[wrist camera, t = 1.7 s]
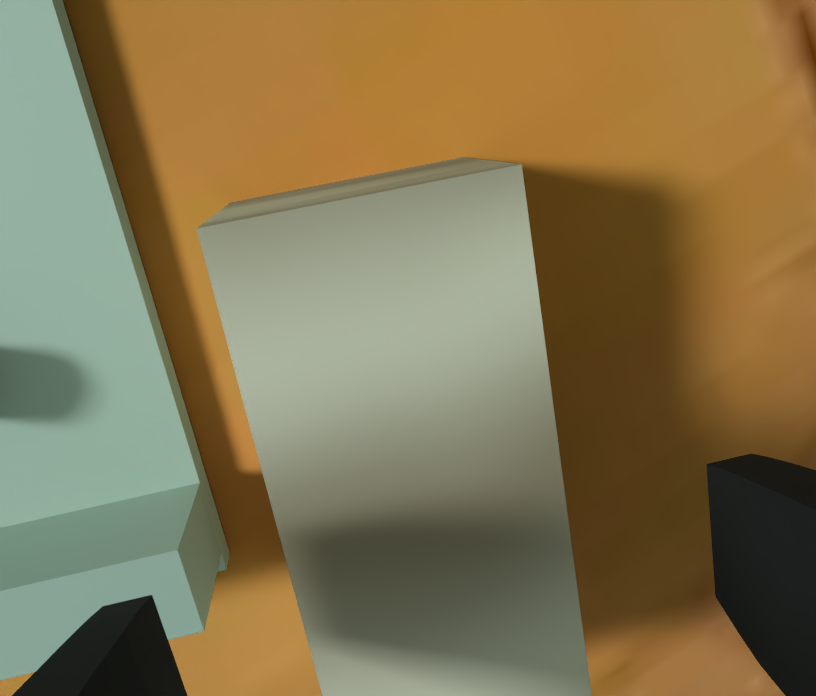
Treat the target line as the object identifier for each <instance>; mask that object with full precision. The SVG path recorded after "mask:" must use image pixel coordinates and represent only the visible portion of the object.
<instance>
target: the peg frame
mask: <svg viewBox="0 0 816 696" xmlns="http://www.w3.org/2000/svg"><path fill="white" fill-rule="evenodd" d="M229 556H230V552H229V549H228V546H227V542H226V539H225V536H224V532H223V529H222V526H221V522H220V519H219V516H218V513H217V509H216V506H215V503H214V499H213V496H212V493H211V489H210V486H209V483H208V479H207V476H206V473H205V470H204V466H203V463H202V460H201V456H200V453H199V450H198V446H197V443H196V440H195V437H194V433H193V430H192V427H191V423H190V420H189V417H188V413H187V410H186V407H185V403H184V400H183V397H182V394H181V390H180V387H179V384H178V380H177V377H176V374H175V370H174V367H173V364H172V360H171V357H170V354H169V351H168V347H167V344H166V341H165V337H164V334H163V331H162V327H161V324H160V321H159V317H158V314H157V311H156V308H155V304H154V301H153V298H152V294H151V291H150V288H149V284H148V281H147V278H146V274H145V271H144V268H143V265H142V261H141V258H140V255H139V251H138V248H137V245H136V241H135V238H134V235H133V232H132V228H131V225H130V222H129V218H128V215H127V212H126V208H125V205H124V202H123V198H122V195H121V192H120V189H119V185H118V182H117V179H116V175H115V172H114V169H113V165H112V162H111V159H110V155H109V152H108V149H107V146H106V142H105V139H104V136H103V132H102V129H101V126H100V122H99V119H98V116H97V112H96V109H95V106H94V103H93V99H92V96H91V93H90V89H89V86H88V83H87V79H86V76H85V73H84V70H83V66H82V63H81V60H80V56H79V53H78V50H77V46H76V43H75V40H74V36H73V33H72V30H71V27H70V23H69V20H68V17H67V13H66V10H65V7H64V3H63V0H0V680H3V679H7V678H11V677H15V676H19V675H24V674H28V673H32V672H36V671H37V670H38V669H39V668H40V667H41V666H42V665H43V664H44V663H45V662H46V661H47V660H48V659H49V657H50V656H51V655H52V654H53V653H54V652H55V651H56V650H57V649H58V648H59V647H60V646H61V645H62V644H63V643H64V642H65V641H66V640H67V639H68V638H69V637H70V636H71V635H72V634H73V633H74V632H75V631H76V630H77V629H78V628H79V627H80V626H81V625H82V624H83V623H85V622H86V621H87V620H88V619H89V618H90V617H91V616H92V615H93V614H94V613H96V612H97V611H98V610H99V609H100V608H101V607H102V606H106V605H110V604H115V603H119V602H123V601H127V600H132V599H136V598H140V597H144V596H149V595H152V596H153V599H154V602H155V605H156V608H157V610H158V613H159V616H160V619H161V622H162V625H163V628H164V630H165V633H166V636H167V639H168V640H169V639H173V638H178V637H182V636H186V635H190V634H194V633H198V632H203V631H204V629H205V625H206V620H207V616H208V611H209V607H210V602H211V598H212V593H213V589H214V584H215V580H216V575H217V572H220V571H225V570H227V566H228V561H229Z"/></svg>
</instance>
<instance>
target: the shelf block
mask: <svg viewBox="0 0 816 696" xmlns="http://www.w3.org/2000/svg"><path fill="white" fill-rule="evenodd" d="M196 229H197V233H198V237H199V240H200V244H201V248H202V251H203V255H204V259H205V262H206V266H207V270H208V274H209V277H210V281H211V285H212V288H213V292H214V296H215V300H216V303H217V307H218V311H219V314H220V318H221V322H222V325H223V329H224V333H225V337H226V340H227V344H228V348H229V351H230V355H231V359H232V362H233V366H234V370H235V374H236V377H237V381H238V385H239V388H240V392H241V396H242V399H243V403H244V407H245V411H246V414H247V418H248V422H249V425H250V429H251V433H252V436H253V440H254V444H255V448H256V451H257V455H258V459H259V462H260V466H261V470H262V473H263V477H264V481H265V485H266V488H267V492H268V496H269V499H270V503H271V507H272V511H273V514H274V518H275V522H276V525H277V529H278V533H279V536H280V540H281V544H282V548H283V551H284V555H285V559H286V562H287V566H288V570H289V573H290V577H291V581H292V585H293V588H294V592H295V596H296V599H297V603H298V607H299V610H300V614H301V618H302V622H303V625H304V629H305V633H306V636H307V640H308V644H309V647H310V651H311V655H312V659H313V662H314V666H315V670H316V673H317V677H318V681H319V684H320V688H321V692H322V696H592V695H591V688H590V680H589V672H588V665H587V657H586V650H585V642H584V634H583V627H582V619H581V611H580V604H579V596H578V589H577V581H576V573H575V566H574V558H573V551H572V543H571V535H570V528H569V520H568V513H567V505H566V497H565V490H564V482H563V475H562V467H561V459H560V452H559V444H558V436H557V429H556V421H555V414H554V406H553V398H552V391H551V383H550V376H549V368H548V360H547V353H546V345H545V338H544V330H543V322H542V315H541V307H540V299H539V292H538V284H537V277H536V269H535V261H534V254H533V246H532V239H531V231H530V223H529V216H528V208H527V201H526V193H525V185H524V178H523V170H522V164H516V163H508V162H500V161H492V160H484V159H476V158H468V157H461V158H456V159H451V160H446V161H441V162H435V163H430V164H425V165H420V166H415V167H410V168H405V169H400V170H395V171H390V172H385V173H379V174H374V175H369V176H364V177H359V178H354V179H349V180H344V181H339V182H334V183H328V184H323V185H318V186H313V187H308V188H303V189H298V190H293V191H288V192H283V193H277V194H272V195H267V196H262V197H257V198H252V199H247V200H242V201H237V202H232V203H229V204H228V205H227V206H225V207H224V208H223V209H222V210H220V211H219V212H218V213H216V214H215V215H214V216H212V217H211V218H210V219H208V220H207V221H206V222H204V223H203V224H202V225H200V226H199V227H198V228H196Z"/></svg>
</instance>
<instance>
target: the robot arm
mask: <svg viewBox="0 0 816 696" xmlns="http://www.w3.org/2000/svg"><path fill="white" fill-rule="evenodd" d="M707 476H708V491H709V506H710V521H711V536H712V551H713V565H714V580H715V595H716V598H717V599H718V601H719V603H720V604H721V606H722V607H723V609H724V610H725V612H726V614H727V615H728V617H729V618H730V620H731V622H732V623H733V625H734V626H735V628H736V629H737V631H738V633H739V634H740V636H741V637H742V639H743V640H744V642H745V643H746V644H747V646H748V647H749V649H750V650H751V652H752V653H753V655H754V656H755V658H756V659H757V661H758V662H759V664H760V665H761V666H762V668H763V669H764V670H765V671H766V672H767V674H768V675H769V676H770V677H771V679H772V680H773V681H774V682H775V683H776V685H777V686H778V687H779V688H780V689H781V691H782V692H783V693H784V694H785V695H786V696H816V470H812V469H809V468H805V467H802V466H799V465H795V464H792V463H788V462H785V461H781V460H777V459H773V458H769V457H765V456H760V455H755V454H748V455H744V456H740V457H735V458H731V459H727V460H723V461H718V462H714V463H710V464H707ZM12 696H187V693H186V691H185V688H184V685H183V682H182V679H181V676H180V673H179V671H178V668H177V665H176V662H175V659H174V656H173V653H172V651H171V648H170V645H169V642H168V639H167V636H166V633H165V630H164V628H163V625H162V622H161V619H160V616H159V613H158V610H157V608H156V605H155V602H154V599H153V596H152V595H149V596H144V597H140V598H136V599H132V600H127V601H123V602H119V603H115V604H110V605H106V606H102V607H101V608H100V609H99V610H98V611H97V612H96V613H94V614H93V615H92V616H91V617H90V618H89V619H88V620H87V621H86V622H85V623H83V624H82V625H81V626H80V627H79V628H78V629H77V630H76V631H75V632H74V633H73V634H72V635H71V636H70V637H69V638H68V639H67V640H66V641H65V642H64V643H63V644H62V645H61V646H60V647H59V648H58V649H57V650H56V651H55V652H54V653H53V654H52V655H51V656H50V657H49V659H48V660H47V661H46V662H45V663H44V664H43V665H42V666H41V667H40V668H39V669H38V670H37V671H36V672H35V673H34V674H33V675H32V676H31V677H30V678H29V679H28V680H27V681H26V682H25V683H24V684H23V685H22V686H21V687H20V688H19V689H18V690H17V691H16V692H15V693H14V694H13V695H12Z"/></svg>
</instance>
